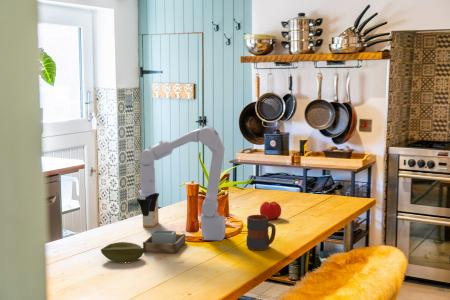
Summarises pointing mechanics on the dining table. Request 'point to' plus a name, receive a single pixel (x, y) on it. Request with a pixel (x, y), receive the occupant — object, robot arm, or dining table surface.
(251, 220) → the mug
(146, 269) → the dining table surface
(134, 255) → the fruit
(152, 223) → the supplement box
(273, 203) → the tomato
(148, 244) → the walnut crate
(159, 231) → the grey crate
